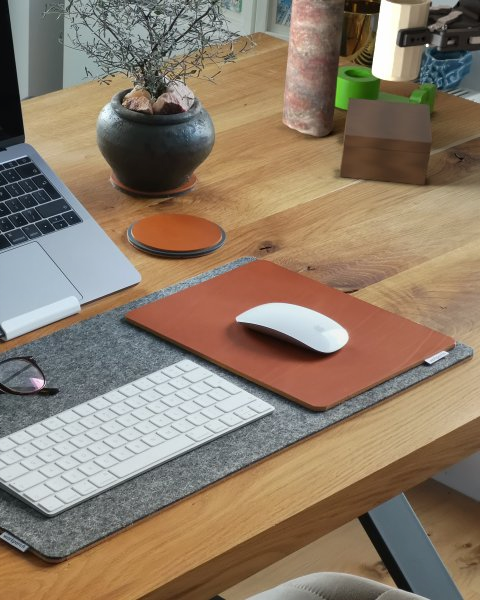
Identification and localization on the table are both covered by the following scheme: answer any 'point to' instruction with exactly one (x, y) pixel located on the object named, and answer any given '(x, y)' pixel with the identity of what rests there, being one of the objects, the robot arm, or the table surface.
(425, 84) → the tape dispenser
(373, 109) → the dark walnut wood block
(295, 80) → the candle
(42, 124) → the table surface
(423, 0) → the pen cup
